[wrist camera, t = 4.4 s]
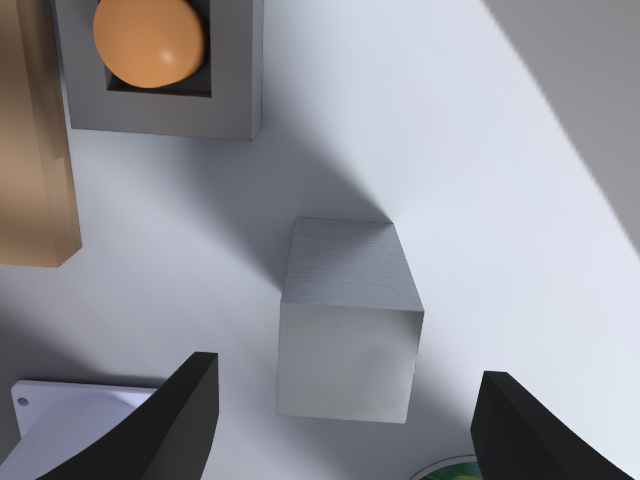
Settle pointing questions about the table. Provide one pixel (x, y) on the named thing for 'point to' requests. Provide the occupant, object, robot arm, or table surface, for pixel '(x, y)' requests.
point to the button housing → (176, 98)
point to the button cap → (151, 40)
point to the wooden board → (33, 143)
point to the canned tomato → (452, 470)
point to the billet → (347, 323)
